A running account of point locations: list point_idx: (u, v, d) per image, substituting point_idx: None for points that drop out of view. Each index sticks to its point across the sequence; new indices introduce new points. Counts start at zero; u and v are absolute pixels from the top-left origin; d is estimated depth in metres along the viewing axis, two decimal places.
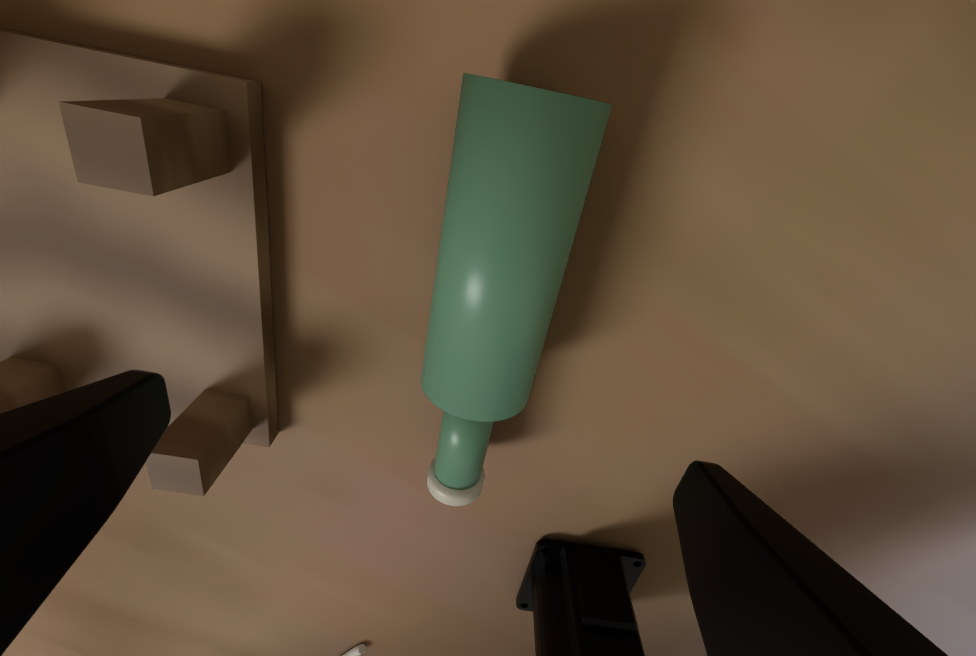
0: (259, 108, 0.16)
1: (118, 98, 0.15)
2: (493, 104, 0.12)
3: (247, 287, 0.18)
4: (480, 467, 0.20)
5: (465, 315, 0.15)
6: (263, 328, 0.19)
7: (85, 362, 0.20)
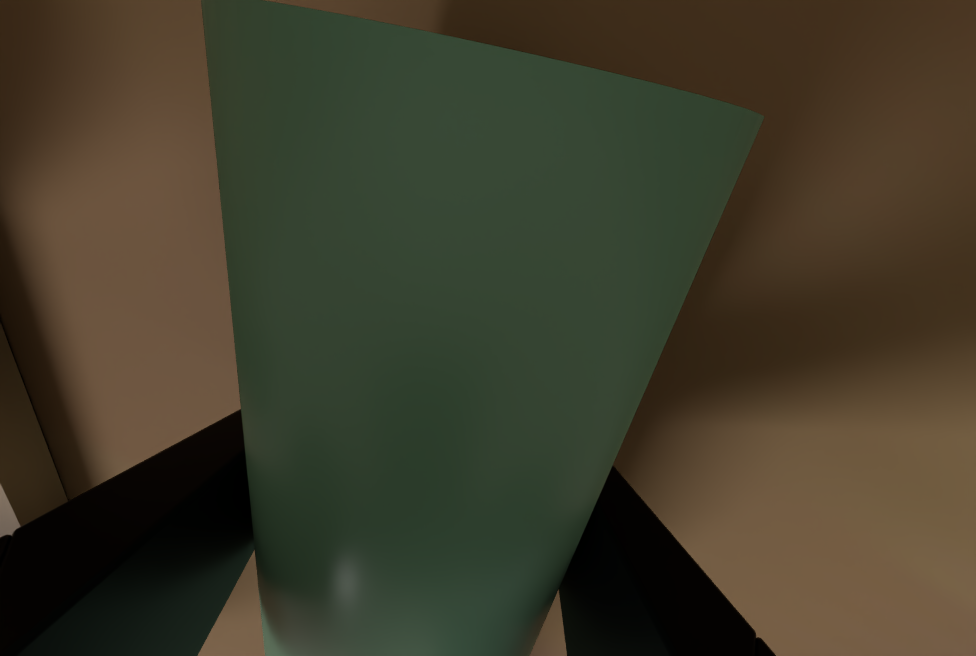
0: None
1: None
2: (211, 96, 0.03)
3: None
4: None
5: (266, 628, 0.06)
6: None
7: None
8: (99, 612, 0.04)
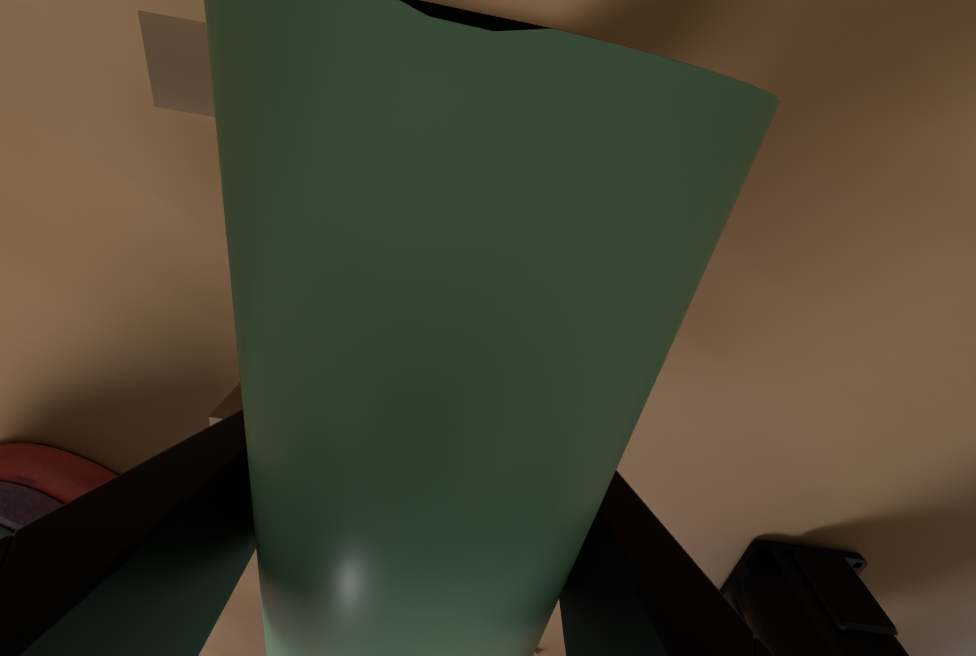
0: None
1: None
2: (213, 78, 0.03)
3: None
4: None
5: (267, 626, 0.06)
6: None
7: None
8: (101, 612, 0.04)
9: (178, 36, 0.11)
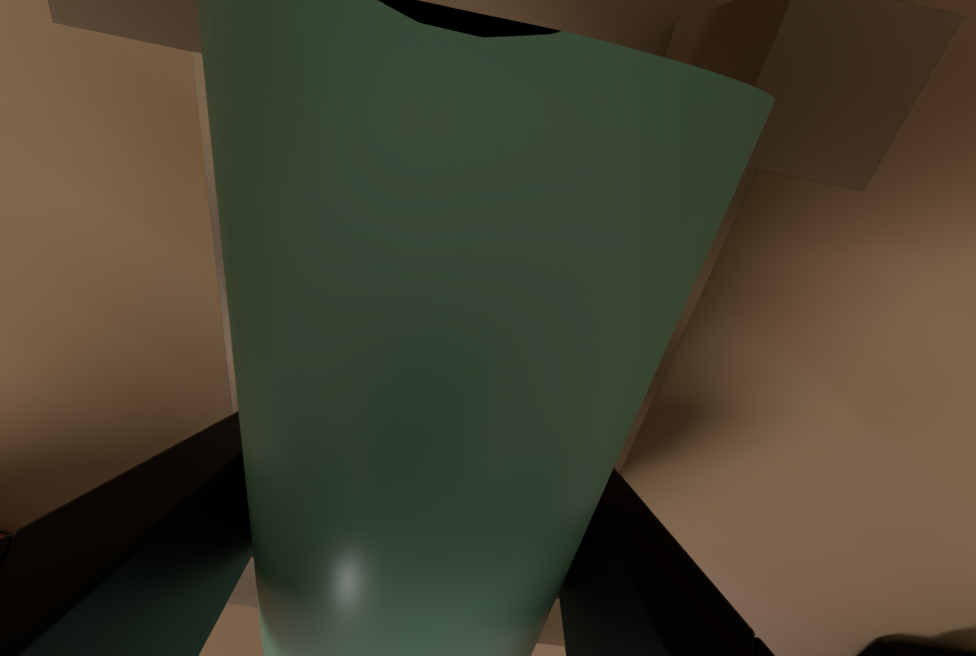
0: None
1: (597, 21, 0.09)
2: (205, 79, 0.03)
3: None
4: None
5: (263, 627, 0.06)
6: (655, 388, 0.13)
7: None
8: (101, 612, 0.04)
9: None
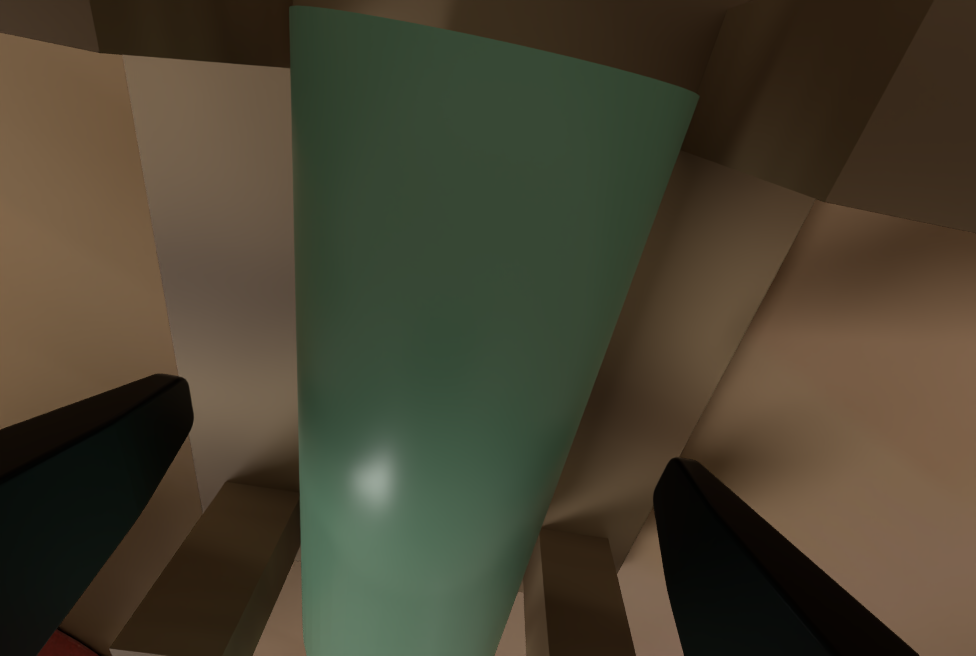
0: None
1: (626, 10, 0.07)
2: (293, 78, 0.04)
3: (697, 379, 0.10)
4: None
5: (307, 527, 0.07)
6: (683, 441, 0.11)
7: None
8: None
9: None
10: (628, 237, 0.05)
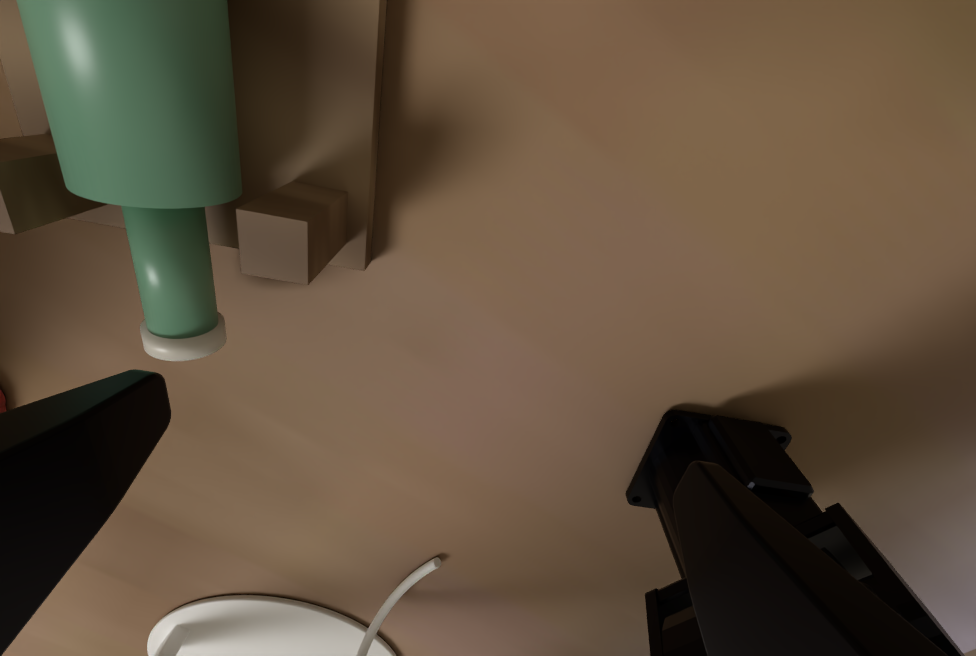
0: None
1: None
2: None
3: (363, 11, 0.14)
4: (181, 312, 0.15)
5: (19, 11, 0.11)
6: (376, 83, 0.15)
7: None
8: None
9: None
10: None
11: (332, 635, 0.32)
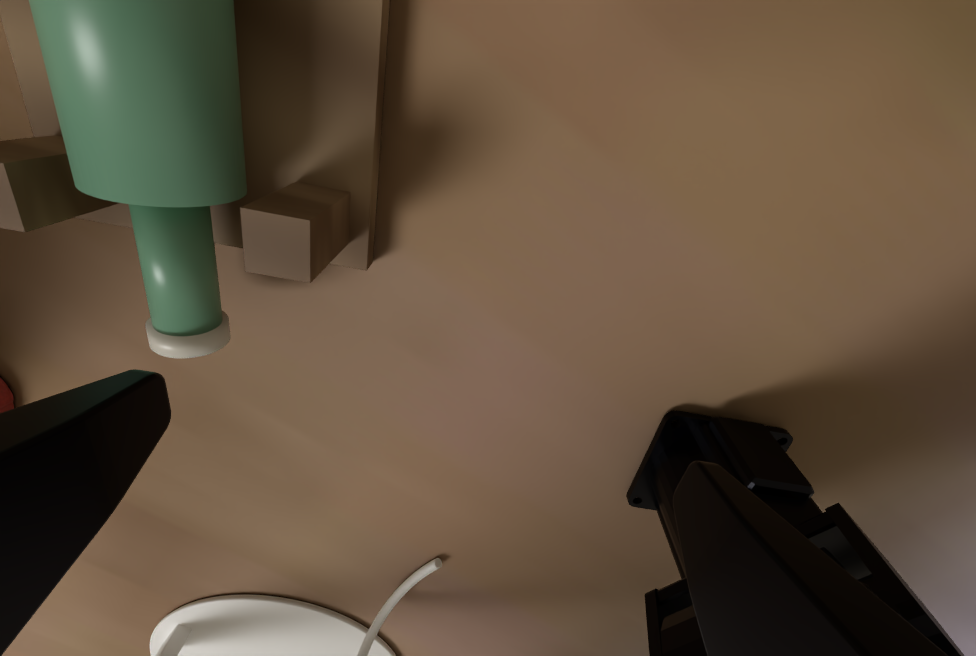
0: None
1: None
2: None
3: (366, 14, 0.14)
4: (186, 310, 0.16)
5: (32, 15, 0.11)
6: (378, 85, 0.15)
7: None
8: None
9: None
10: None
11: (333, 636, 0.32)
